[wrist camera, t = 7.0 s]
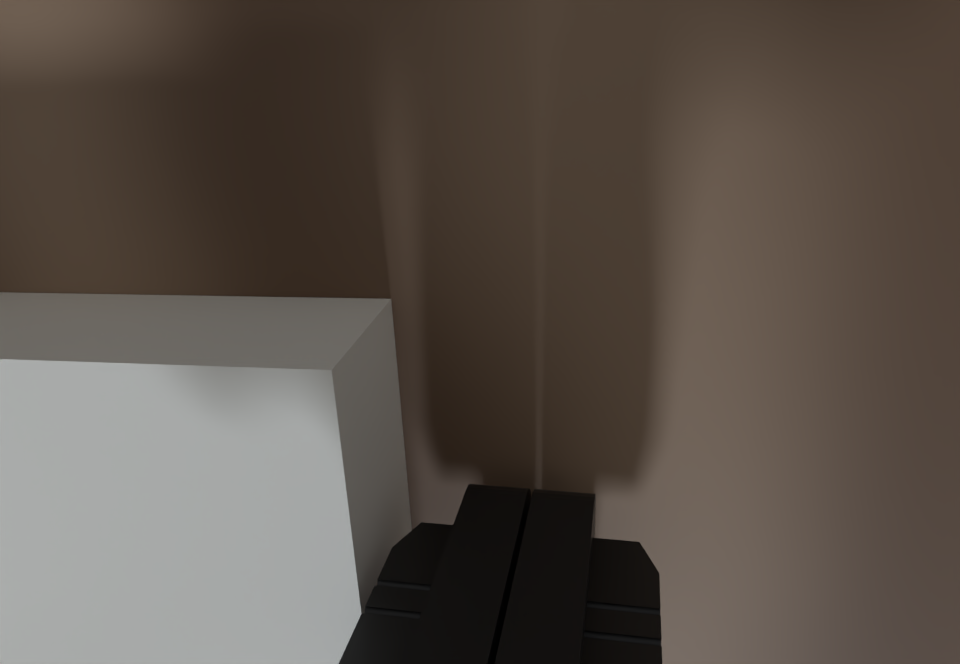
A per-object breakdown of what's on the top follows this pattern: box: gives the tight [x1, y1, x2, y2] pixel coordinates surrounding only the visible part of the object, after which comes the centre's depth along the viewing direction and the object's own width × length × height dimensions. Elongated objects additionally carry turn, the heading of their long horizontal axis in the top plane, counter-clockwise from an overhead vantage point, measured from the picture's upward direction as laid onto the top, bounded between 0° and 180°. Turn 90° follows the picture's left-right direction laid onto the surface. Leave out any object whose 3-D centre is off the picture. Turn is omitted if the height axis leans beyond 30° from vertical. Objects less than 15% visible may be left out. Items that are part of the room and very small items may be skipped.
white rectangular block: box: [0, 292, 412, 664], centre depth 10 cm, size 9×6×2 cm, turn 93°
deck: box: [0, 0, 960, 664], centre depth 12 cm, size 20×13×4 cm, turn 92°
